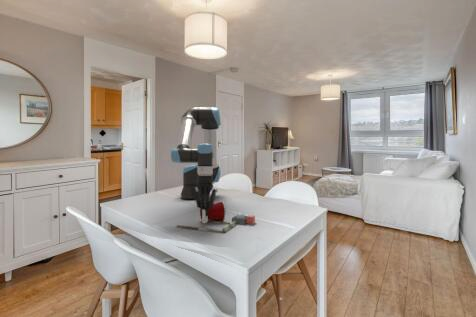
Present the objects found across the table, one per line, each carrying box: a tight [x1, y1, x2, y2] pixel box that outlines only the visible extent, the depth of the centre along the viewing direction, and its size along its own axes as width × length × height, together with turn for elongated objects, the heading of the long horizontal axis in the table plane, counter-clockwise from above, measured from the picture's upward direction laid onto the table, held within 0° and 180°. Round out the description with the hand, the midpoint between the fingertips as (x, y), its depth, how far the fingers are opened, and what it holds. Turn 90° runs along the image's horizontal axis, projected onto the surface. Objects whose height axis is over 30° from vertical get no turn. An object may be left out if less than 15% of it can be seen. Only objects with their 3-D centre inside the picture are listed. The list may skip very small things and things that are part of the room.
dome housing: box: [231, 214, 256, 227], centre depth 126 cm, size 7×11×4 cm, turn 69°
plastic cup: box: [199, 200, 226, 222], centre depth 128 cm, size 11×11×12 cm
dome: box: [235, 212, 246, 219], centre depth 127 cm, size 5×5×5 cm
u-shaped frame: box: [175, 220, 237, 234], centre depth 121 cm, size 15×25×2 cm, turn 69°
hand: (205, 222), depth 121 cm, fingers closed
